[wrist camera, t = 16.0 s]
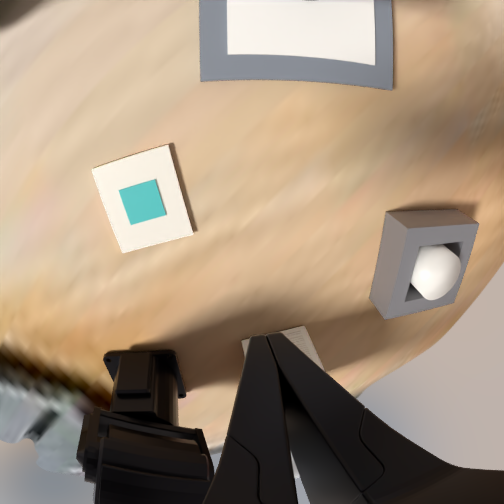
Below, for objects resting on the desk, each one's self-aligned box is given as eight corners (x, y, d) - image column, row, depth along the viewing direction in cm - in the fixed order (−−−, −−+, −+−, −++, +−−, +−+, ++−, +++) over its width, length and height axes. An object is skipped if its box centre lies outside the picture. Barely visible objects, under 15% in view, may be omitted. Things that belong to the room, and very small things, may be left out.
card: (193, 232, 21) (193, 235, 20) (123, 251, 20) (122, 254, 20) (168, 144, 18) (167, 145, 17) (92, 168, 17) (91, 170, 17)
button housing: (436, 285, 27) (453, 303, 25) (369, 298, 26) (384, 319, 24) (456, 209, 23) (479, 223, 21) (385, 211, 22) (407, 228, 20)
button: (428, 272, 26) (451, 295, 23) (392, 278, 25) (415, 304, 22) (439, 230, 24) (466, 251, 21) (402, 233, 23) (429, 257, 20)
